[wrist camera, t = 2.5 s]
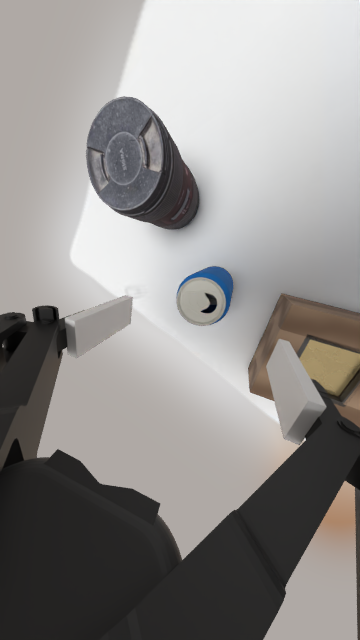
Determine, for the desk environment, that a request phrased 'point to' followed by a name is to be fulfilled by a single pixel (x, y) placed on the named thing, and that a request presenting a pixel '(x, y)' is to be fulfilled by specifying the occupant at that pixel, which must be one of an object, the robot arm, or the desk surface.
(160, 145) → the camera lens
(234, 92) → the desk surface
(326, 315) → the socket block
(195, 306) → the beverage can
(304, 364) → the gold metal plaque
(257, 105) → the desk surface
